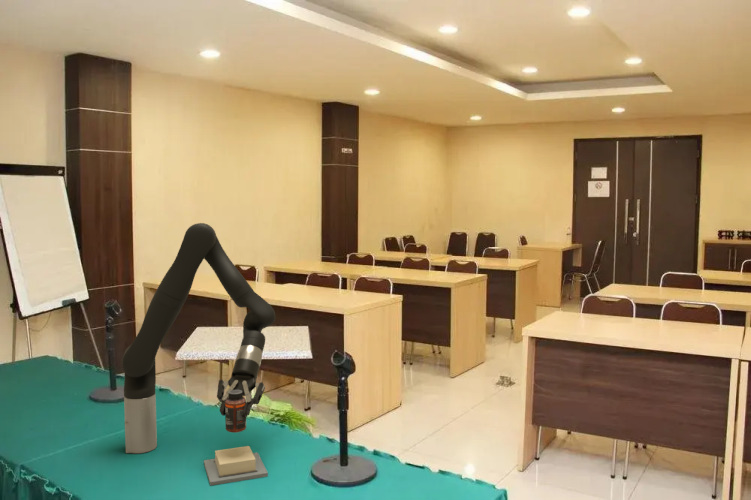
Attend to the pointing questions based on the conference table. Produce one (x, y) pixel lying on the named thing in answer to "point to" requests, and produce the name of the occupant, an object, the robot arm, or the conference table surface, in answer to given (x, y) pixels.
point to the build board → (234, 478)
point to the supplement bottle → (235, 411)
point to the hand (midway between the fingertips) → (233, 415)
